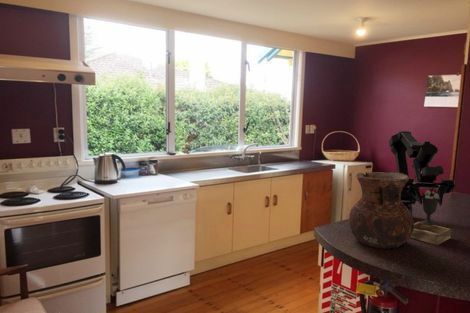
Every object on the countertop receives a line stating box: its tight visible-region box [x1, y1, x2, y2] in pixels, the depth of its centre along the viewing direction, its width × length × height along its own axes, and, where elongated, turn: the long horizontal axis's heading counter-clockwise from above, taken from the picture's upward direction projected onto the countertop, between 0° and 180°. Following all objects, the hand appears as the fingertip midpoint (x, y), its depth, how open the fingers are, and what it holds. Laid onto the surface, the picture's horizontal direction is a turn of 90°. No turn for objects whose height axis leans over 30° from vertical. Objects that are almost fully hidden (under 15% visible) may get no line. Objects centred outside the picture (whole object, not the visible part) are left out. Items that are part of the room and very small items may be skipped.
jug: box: [348, 171, 414, 249], centre depth 130 cm, size 22×21×25 cm
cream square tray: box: [409, 221, 452, 246], centre depth 138 cm, size 12×12×4 cm
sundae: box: [420, 185, 440, 225], centre depth 137 cm, size 7×7×15 cm
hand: (431, 204), depth 136 cm, fingers closed on sundae, 6 cm apart
